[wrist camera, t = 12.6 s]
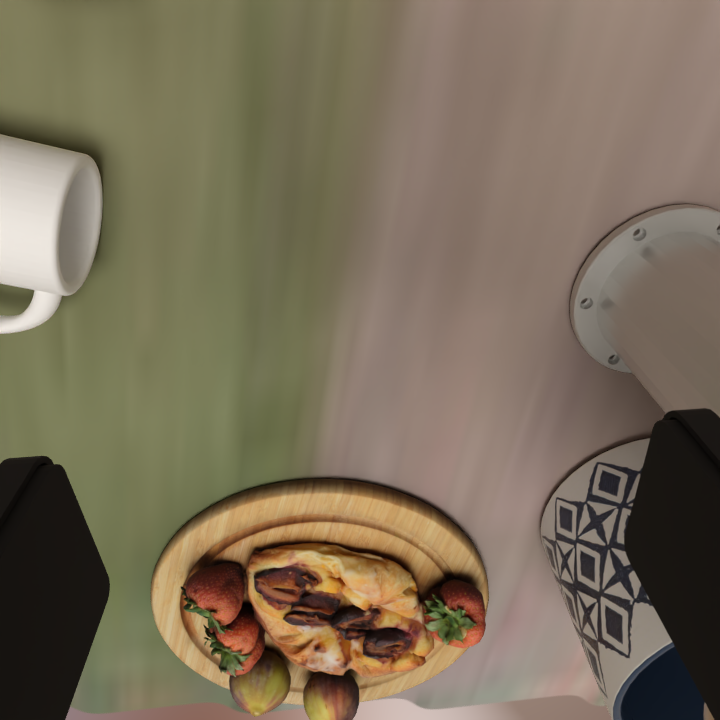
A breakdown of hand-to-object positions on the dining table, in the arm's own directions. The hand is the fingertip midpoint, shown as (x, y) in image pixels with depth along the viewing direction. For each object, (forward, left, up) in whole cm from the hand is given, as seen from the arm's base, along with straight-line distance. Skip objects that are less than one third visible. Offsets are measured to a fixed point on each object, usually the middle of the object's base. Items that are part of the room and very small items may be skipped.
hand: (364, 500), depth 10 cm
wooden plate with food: (+4, +43, -31) cm, 53 cm away
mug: (+20, +4, -31) cm, 37 cm away
